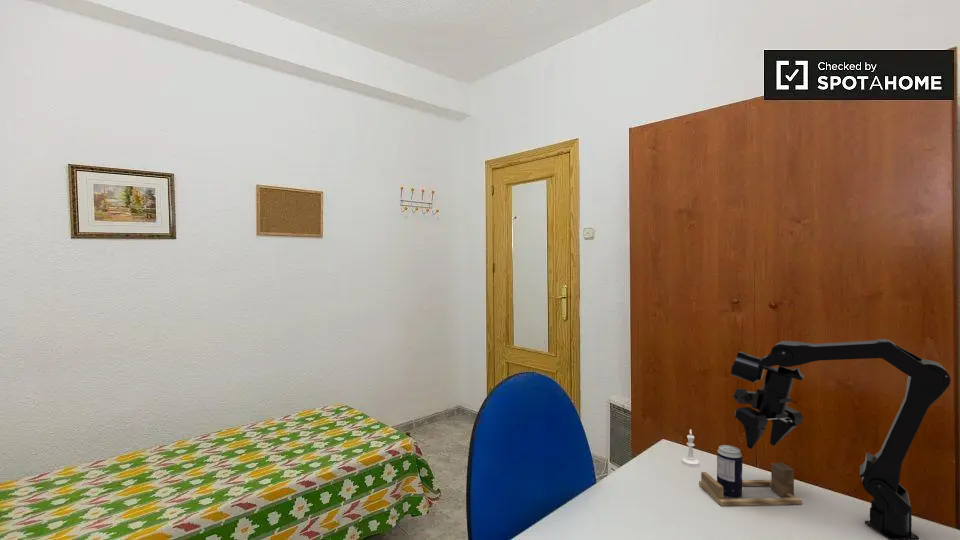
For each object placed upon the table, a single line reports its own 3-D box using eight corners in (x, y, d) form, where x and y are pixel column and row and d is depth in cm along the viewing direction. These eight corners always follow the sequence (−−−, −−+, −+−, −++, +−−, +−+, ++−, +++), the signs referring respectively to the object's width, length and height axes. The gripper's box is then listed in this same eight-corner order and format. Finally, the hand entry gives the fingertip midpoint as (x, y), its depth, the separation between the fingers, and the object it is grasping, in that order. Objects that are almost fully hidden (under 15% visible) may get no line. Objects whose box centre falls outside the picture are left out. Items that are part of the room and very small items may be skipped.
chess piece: (682, 465, 130) (682, 431, 130) (680, 458, 135) (680, 426, 135) (701, 467, 129) (701, 433, 128) (698, 460, 133) (698, 427, 133)
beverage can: (745, 502, 110) (746, 454, 110) (721, 499, 111) (721, 452, 111) (737, 490, 115) (737, 445, 115) (713, 488, 116) (714, 443, 116)
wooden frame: (773, 483, 119) (774, 457, 119) (803, 504, 108) (803, 475, 108) (698, 484, 118) (698, 458, 118) (721, 505, 108) (721, 477, 108)
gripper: (768, 376, 123) (754, 427, 125) (722, 377, 115) (709, 432, 117) (811, 393, 112) (795, 449, 115) (764, 396, 105) (748, 456, 107)
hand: (761, 446), depth 114 cm, fingers open, 9 cm apart
